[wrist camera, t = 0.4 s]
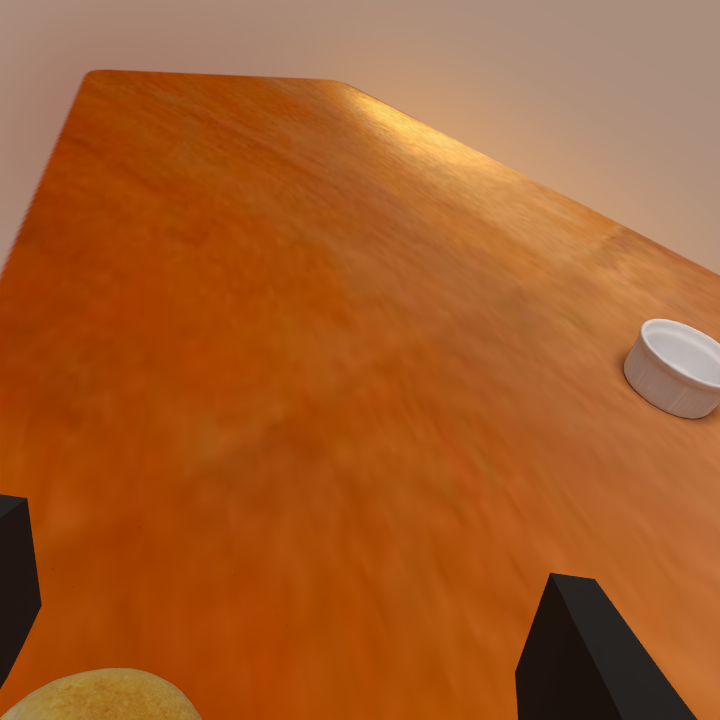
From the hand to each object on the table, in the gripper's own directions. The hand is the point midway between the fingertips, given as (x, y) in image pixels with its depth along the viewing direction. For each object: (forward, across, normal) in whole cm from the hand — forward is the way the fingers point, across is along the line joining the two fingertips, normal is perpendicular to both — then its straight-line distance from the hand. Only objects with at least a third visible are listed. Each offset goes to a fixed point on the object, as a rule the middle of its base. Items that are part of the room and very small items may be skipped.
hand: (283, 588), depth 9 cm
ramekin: (+45, -27, +18) cm, 55 cm away
